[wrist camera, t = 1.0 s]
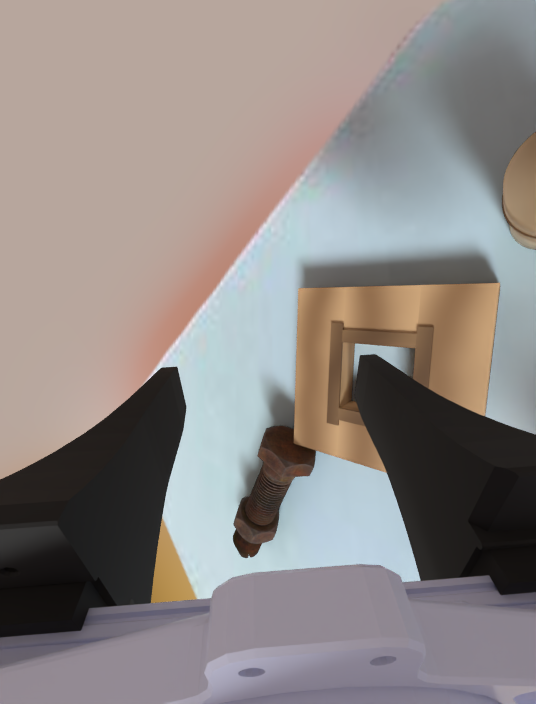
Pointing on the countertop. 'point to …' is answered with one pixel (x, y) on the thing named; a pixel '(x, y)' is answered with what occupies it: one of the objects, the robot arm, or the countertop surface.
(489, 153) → the countertop surface
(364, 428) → the board
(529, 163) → the peg
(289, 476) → the bolt
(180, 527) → the countertop surface
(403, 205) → the countertop surface
